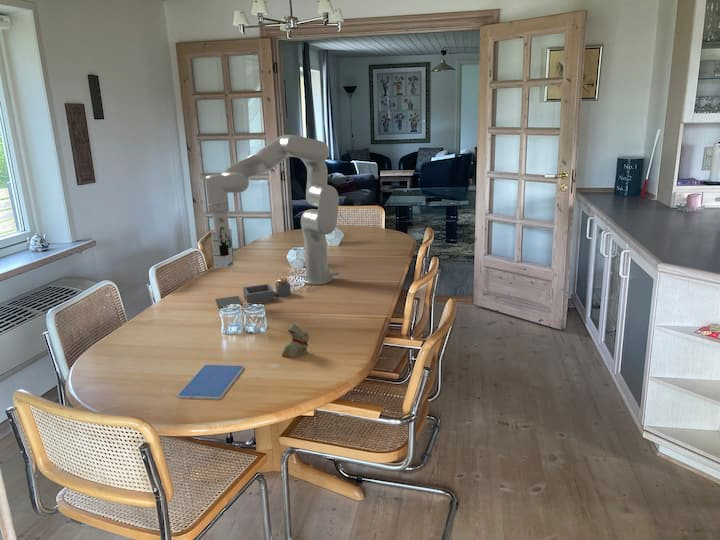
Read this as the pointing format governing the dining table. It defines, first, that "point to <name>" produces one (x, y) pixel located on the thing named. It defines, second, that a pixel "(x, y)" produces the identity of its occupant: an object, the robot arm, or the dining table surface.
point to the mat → (228, 301)
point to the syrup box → (219, 260)
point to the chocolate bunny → (296, 343)
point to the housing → (265, 292)
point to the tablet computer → (211, 382)
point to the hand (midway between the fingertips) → (223, 252)
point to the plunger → (282, 280)
